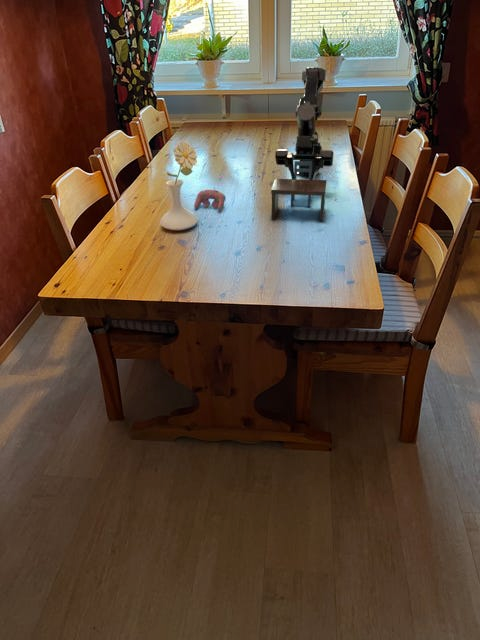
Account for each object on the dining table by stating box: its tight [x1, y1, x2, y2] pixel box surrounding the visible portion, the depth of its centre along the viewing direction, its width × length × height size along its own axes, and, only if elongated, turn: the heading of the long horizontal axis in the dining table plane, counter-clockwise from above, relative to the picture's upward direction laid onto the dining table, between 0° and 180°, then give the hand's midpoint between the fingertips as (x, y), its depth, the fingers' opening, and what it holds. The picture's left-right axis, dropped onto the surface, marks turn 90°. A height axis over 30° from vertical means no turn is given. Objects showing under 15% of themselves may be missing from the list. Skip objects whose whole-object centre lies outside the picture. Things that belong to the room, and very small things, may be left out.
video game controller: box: [193, 189, 226, 213], centre depth 162 cm, size 10×5×7 cm, turn 71°
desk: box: [270, 178, 328, 223], centre depth 154 cm, size 10×16×10 cm, turn 79°
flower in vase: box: [159, 140, 198, 231], centre depth 146 cm, size 13×11×25 cm
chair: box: [290, 160, 312, 208], centre depth 161 cm, size 6×6×13 cm
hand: (302, 181), depth 162 cm, fingers closed on chair, 5 cm apart
